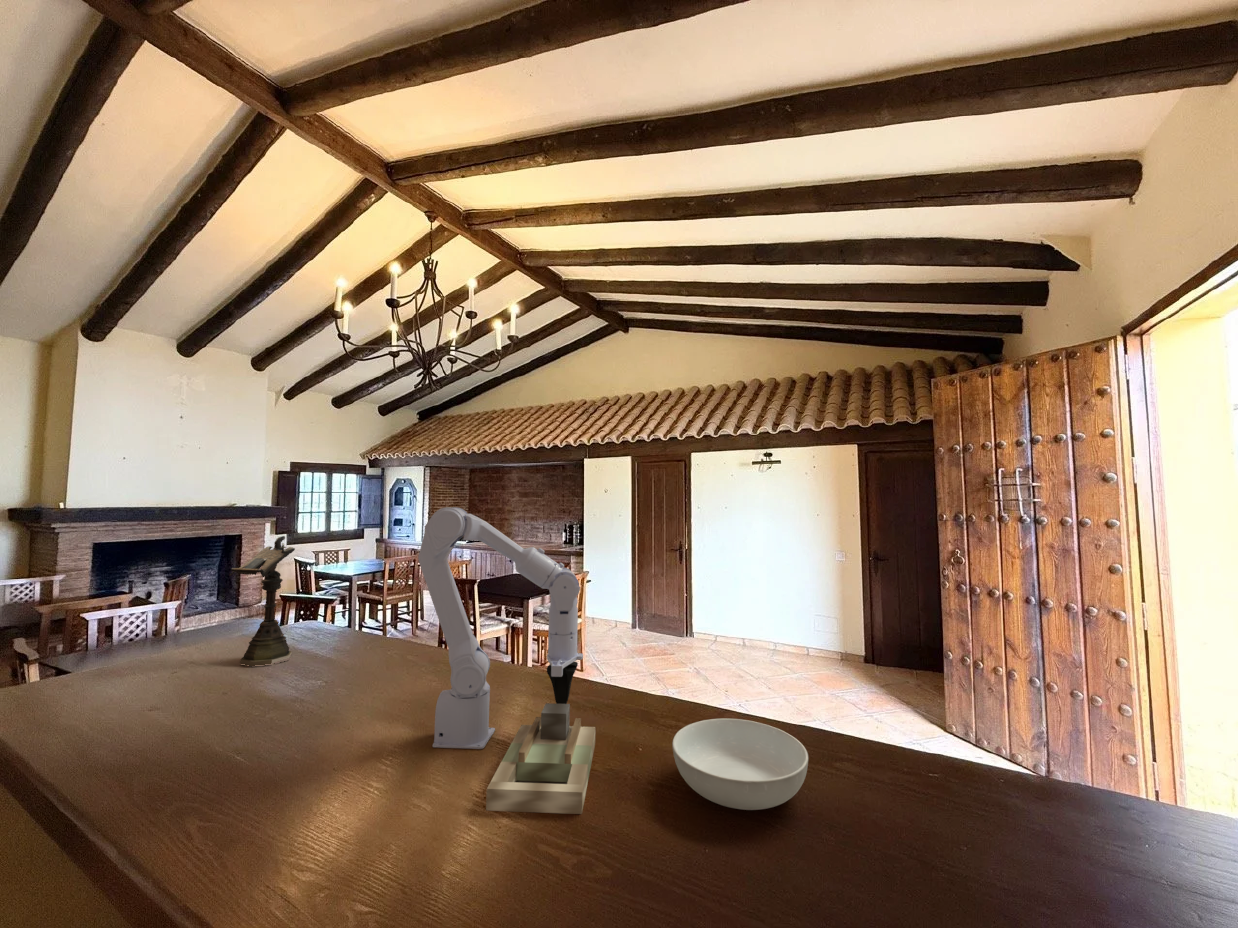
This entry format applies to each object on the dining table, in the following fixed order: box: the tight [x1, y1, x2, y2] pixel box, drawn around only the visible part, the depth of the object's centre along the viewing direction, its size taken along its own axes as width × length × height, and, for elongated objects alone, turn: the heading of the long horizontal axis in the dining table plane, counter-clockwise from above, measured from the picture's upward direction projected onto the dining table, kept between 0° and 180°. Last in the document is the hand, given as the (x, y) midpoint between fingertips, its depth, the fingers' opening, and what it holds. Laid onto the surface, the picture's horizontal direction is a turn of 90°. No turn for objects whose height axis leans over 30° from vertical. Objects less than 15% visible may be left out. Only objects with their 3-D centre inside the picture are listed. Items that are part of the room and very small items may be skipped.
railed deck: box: [485, 716, 596, 815], centre depth 85 cm, size 14×22×4 cm, turn 178°
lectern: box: [229, 535, 296, 666], centre depth 142 cm, size 17×13×35 cm
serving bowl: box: [671, 718, 809, 811], centre depth 81 cm, size 21×21×7 cm
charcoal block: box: [540, 702, 571, 740], centre depth 93 cm, size 4×4×4 cm
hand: (561, 702), depth 100 cm, fingers closed
